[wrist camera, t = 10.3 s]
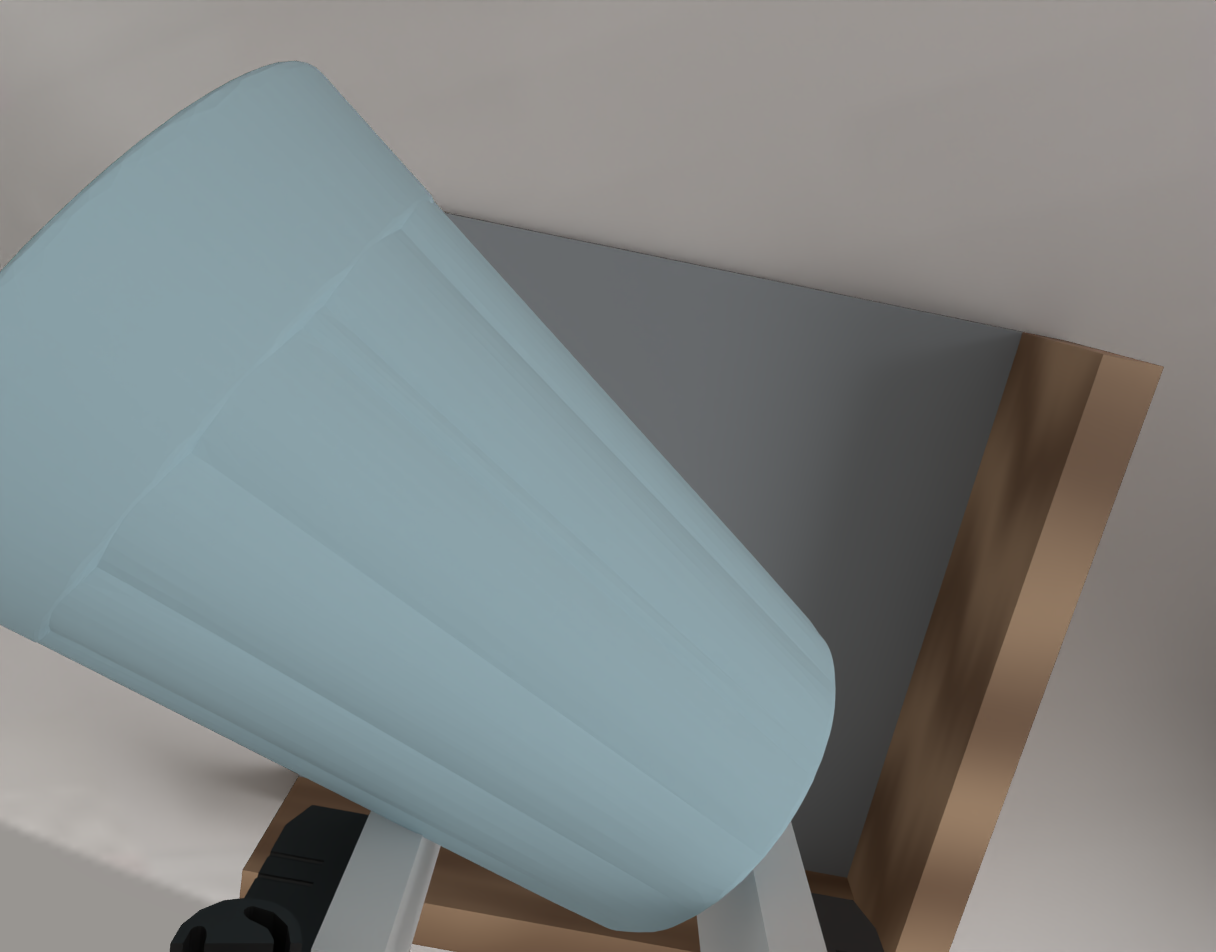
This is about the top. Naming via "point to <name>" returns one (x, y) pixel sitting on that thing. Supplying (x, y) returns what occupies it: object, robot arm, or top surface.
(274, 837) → the walls
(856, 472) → the pad
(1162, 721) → the top surface
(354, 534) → the cup
